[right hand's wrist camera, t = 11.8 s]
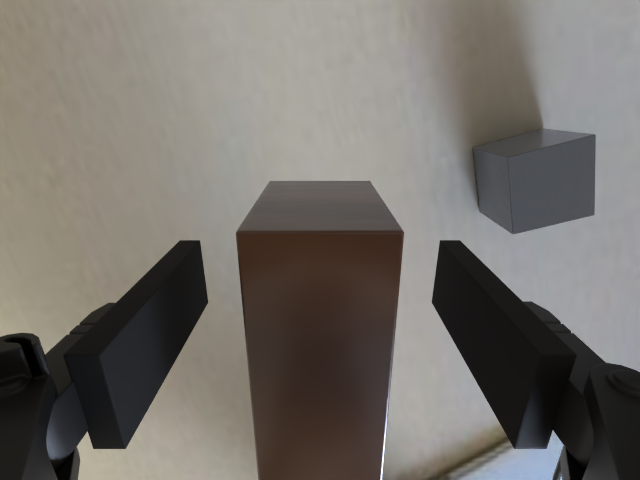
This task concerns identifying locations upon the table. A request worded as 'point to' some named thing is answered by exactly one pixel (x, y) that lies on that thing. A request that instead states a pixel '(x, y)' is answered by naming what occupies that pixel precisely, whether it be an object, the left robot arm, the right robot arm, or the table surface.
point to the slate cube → (536, 179)
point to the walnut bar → (320, 327)
